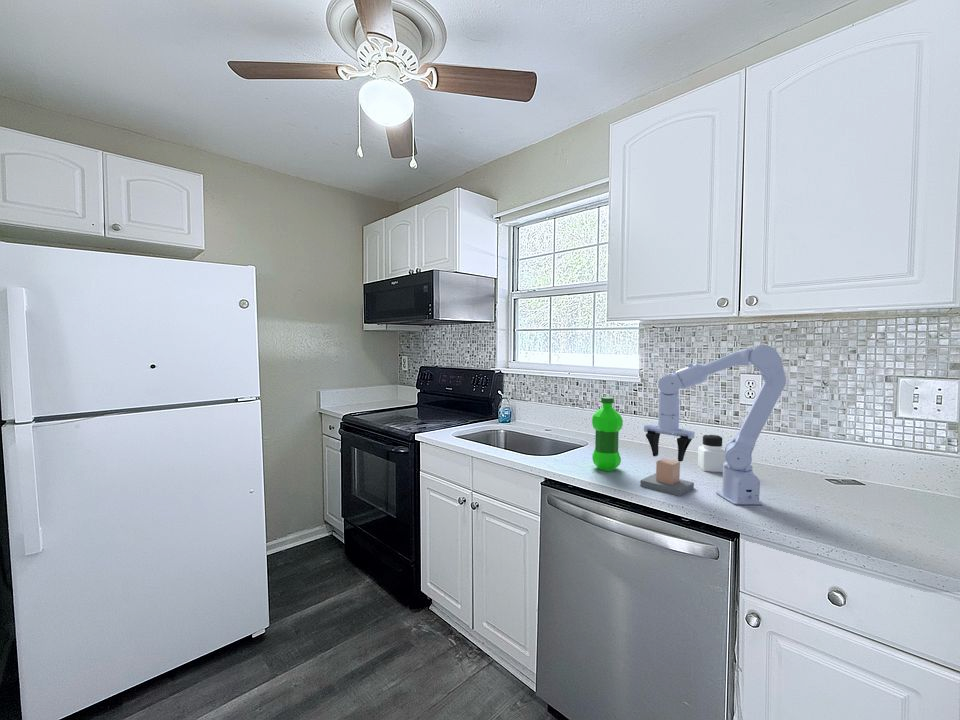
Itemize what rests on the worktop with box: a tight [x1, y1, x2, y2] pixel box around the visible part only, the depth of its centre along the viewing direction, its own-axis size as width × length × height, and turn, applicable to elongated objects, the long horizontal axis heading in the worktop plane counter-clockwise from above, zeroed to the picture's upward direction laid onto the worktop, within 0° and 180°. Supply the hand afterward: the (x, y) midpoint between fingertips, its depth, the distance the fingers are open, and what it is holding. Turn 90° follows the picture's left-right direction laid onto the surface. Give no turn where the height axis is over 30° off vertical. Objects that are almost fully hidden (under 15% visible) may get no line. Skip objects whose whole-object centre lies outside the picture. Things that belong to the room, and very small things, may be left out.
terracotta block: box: [655, 458, 681, 485], centre depth 133 cm, size 5×5×6 cm
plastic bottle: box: [591, 396, 624, 472], centre depth 151 cm, size 10×10×25 cm
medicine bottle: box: [697, 433, 726, 473], centre depth 151 cm, size 7×7×12 cm
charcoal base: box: [640, 473, 695, 497], centre depth 132 cm, size 12×10×2 cm
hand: (667, 458), depth 132 cm, fingers open, 7 cm apart
